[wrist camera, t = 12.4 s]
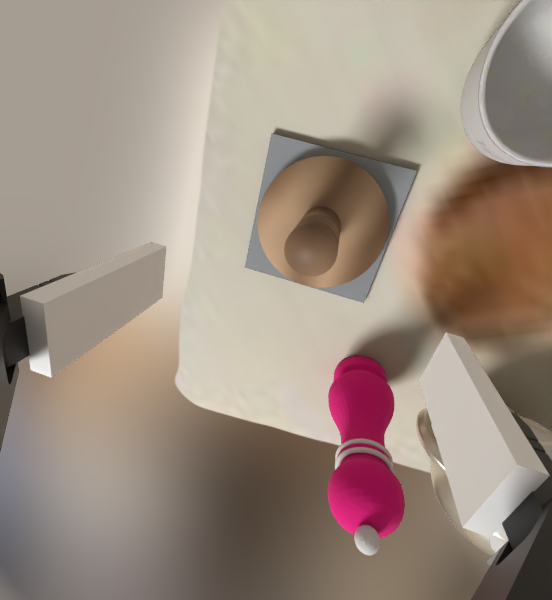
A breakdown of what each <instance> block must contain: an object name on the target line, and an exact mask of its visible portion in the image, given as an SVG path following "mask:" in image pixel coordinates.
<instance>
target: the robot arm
mask: <svg viewBox="0 0 552 600" xmlns="http://www.w3.org/2000/svg"><path fill="white" fill-rule="evenodd" d="M165 255H166V246H162V245H159V244H155V243H153V242H150V243H148V244H145V245H143V246H141V247H138V248H136V249H133V250H131V251H128V252H126V253H123V254H121V255H118V256H116V257H114V258H111V259H109V260H106V261H104V262H101V263H99V264H97V265H94V266H92V267H89V268H87V269H84V270H82V271H79V272H76V273H71V274H65V275H61V276H58V277H56V278H53V279H51V280H49V281H46V282H43V283H41V284H39V286H38V285H36V286H33V287H30V288H28V289H25V290H23V291H21V292H18V293H15V294H13V295H10V296H8V297H7V296H6V290H5V284H4V277H3V275H2V274H0V451H1V447H2V442H3V438H4V434H5V429H6V425H7V421H8V416H9V412H10V408H11V404H12V399H13V395H14V391H15V386H16V382H17V378H18V373H19V367H18V362H19V361H20V360H22V359H24V358H25V357H27V356H29V361H30V368H31V370H32V371H34V372H37V373H40V374H43V375H45V376H48V377H51V378H52V377H53V376H55V375H56V374H57V373H59V372H60V371H62V370H63V369H64V368H66V367H67V366H68V365H70V364H71V363H73V362H74V361H75V360H77V359H78V358H80V357H81V356H82V355H84V354H85V353H86V352H88V351H89V350H91V349H92V348H93V347H95V346H96V345H97V344H99V343H100V342H102V341H103V340H104V339H106V338H107V337H108V336H110V335H111V334H113V333H114V332H115V331H117V330H118V329H120V328H121V327H122V326H124V325H125V324H126V323H128V322H129V321H131V320H132V319H133V318H135V317H136V316H138V315H139V314H140V313H142V312H143V311H144V310H146V309H147V308H149V307H150V306H151V305H153V304H154V303H156V302H157V301H158V300H160V299H161V298H162V293H163V280H164V268H165ZM419 383H420V387H421V390H422V393H423V397H424V400H425V403H426V407H427V410H428V414H429V417H430V420H431V424H432V427H433V430H434V434H435V437H436V440H437V444H438V447H439V451H440V454H441V457H442V461H443V464H444V467H445V471H446V474H447V477H448V481H449V484H450V488H451V491H452V494H453V498H454V501H455V504H456V508H457V511H458V514H459V518H460V521H461V524H462V528H465V529H468V530H471V531H473V532H476V533H479V534H481V535H484V536H487V537H491V536H492V535H493V534H494V533H495V532H496V531H497V530H498V529H499V528H500V527H501V526H502V525H503V528H504V530H505V533H506V535H507V538H508V541H507V542H506V543H505V544H504V545H503V546H502V547H501V548H500V549H499V550H498V551H497V552H496V553H495V554H494V555H493V556H492V557H491V558H490V559H489V560H488V561H487V563H488V564H489V565H490V568H489V569H488V571H487V573H486V575H485V576H484V578H483V580H482V582H481V584H480V585H479V587H478V588H477V590H476V592H475V594H474V595H473V597H472V599H471V600H552V460H551V459H550V457H549V456H548V454H546V453H545V452H546V451H545V449H544V448H543V446H542V445H541V443H539V442H538V439H537V437H536V436H535V434H534V433H533V431H532V430H531V428H530V427H529V426H528V425H527V424H526V423H525V422H524V421H523V420H522V419H521V418H520V417H519V416H518V415H517V414H516V413H513V412H510V411H509V409H508V408H507V406H506V404H505V403H504V401H503V400H502V398H501V396H500V395H499V393H498V392H497V390H496V388H495V387H494V385H493V384H492V382H491V380H490V379H489V377H488V376H487V374H486V372H485V371H484V369H483V368H482V366H481V364H480V363H479V361H478V359H477V358H476V356H475V355H474V353H473V351H472V350H471V348H470V347H469V345H468V343H467V342H466V340H465V339H464V338H463V337H460V336H457V335H454V334H450V333H447V332H446V333H445V335H444V337H443V338H442V340H441V342H440V344H439V345H438V347H437V349H436V351H435V353H434V354H433V356H432V358H431V360H430V362H429V363H428V365H427V367H426V369H425V371H424V372H423V374H422V376H421V378H420V380H419Z"/></svg>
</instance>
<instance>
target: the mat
mask: <svg viewBox="0 0 552 600" xmlns="http://www.w3.org/2000/svg"><path fill="white" fill-rule="evenodd" d="M316 156H334V157H339V158H343V159H346V160H349V161H351V162H353V163H355V164H357V165H359V166H360V167H362V168H363V169H364V170H366V171H367V172H368V173H369V174H370V175H371V176H372V177H373V178H374V180H375V181H376V182H377V184H378V185H379V187H380V188H381V190H382V192H383V194H384V197H385V200H386V202H387V207H388V212H389V229H388V234H387V239H386V242H385V245H384V247H383V249H382V251H381V253H380V255H379V256H378V258H377V259H376V261H375V262H374V263H373V264H372V266H371V267H370V268H369V269H368V270H366V271H365V272H364V273H363V274H362V275H360V276H359V277H357V278H356V279H354V280H352V281H350V282H348V283H345V284H342V285H339V286H334V287H327V288H317V287H312V288H316V289H319V290H322V291H326V292H329V293H332V294H336V295H339V296H342V297H346V298H349V299H352V300H356V301H359V302H362V303H364V301H365V299H366V296H367V294H368V292H369V289H370V287H371V284H372V282H373V279H374V277H375V274H376V272H377V269H378V267H379V264H380V262H381V259H382V257H383V254H384V252H385V249H386V247H387V244H388V242H389V239H390V237H391V234H392V232H393V229H394V227H395V224H396V222H397V219H398V217H399V214H400V212H401V209H402V207H403V204H404V202H405V200H406V197H407V195H408V192H409V190H410V187H411V185H412V182H413V180H414V177H415V175H416V172H417V171H415V170H411V169H408V168H404V167H400V166H396V165H392V164H388V163H384V162H380V161H377V160H373V159H369V158H365V157H361V156H357V155H353V154H349V153H346V152H342V151H338V150H334V149H330V148H326V147H322V146H318V145H315V144H311V143H307V142H303V141H299V140H295V139H291V138H288V137H284V136H280V135H276V134H271V139H270V144H269V149H268V154H267V159H266V164H265V169H264V174H263V179H262V184H261V189H260V194H259V199H258V204H257V209H256V214H255V219H254V224H253V229H252V234H251V239H250V244H249V249H248V255H247V260H246V265H245V268H249V269H252V270H255V271H259V272H262V273H265V274H269V275H272V276H276V277H279V278H282V279H286V280H289V281H292V282H294V281H293V280H291V279H289V278H287V277H286V276H284V275H283V274H282V273H280V272H279V271H278V270H277V269H276V268H275V267H274V266H273V264H272V263H271V262H270V261H269V259H268V258H267V256H266V254H265V252H264V250H263V248H262V245H261V243H260V239H259V234H258V212H259V207H260V204H261V200H262V198H263V196H264V193H265V192H266V190H267V188H268V186H269V185H270V184H271V182H272V181H273V180H274V178H275V177H276V176H277V175H279V174H280V173H281V172H282V171H283V170H284V169H286V168H287V167H288V166H290V165H292V164H294V163H296V162H298V161H301V160H303V159H306V158H310V157H316ZM296 283H297V282H296ZM309 287H310V286H309Z"/></svg>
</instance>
